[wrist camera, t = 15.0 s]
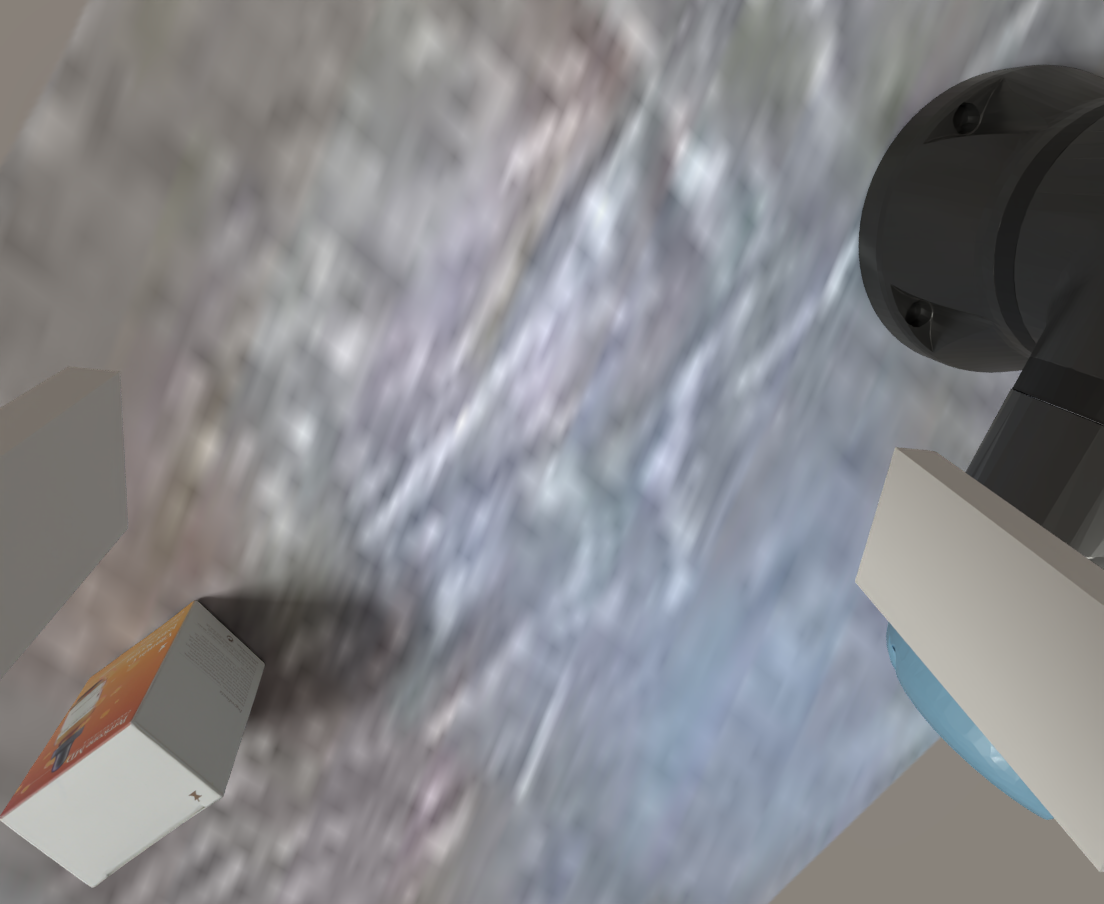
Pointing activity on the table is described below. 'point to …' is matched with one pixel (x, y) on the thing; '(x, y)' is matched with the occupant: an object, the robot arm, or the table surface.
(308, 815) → the table surface
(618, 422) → the table surface
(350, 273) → the table surface
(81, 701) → the small box
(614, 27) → the table surface
